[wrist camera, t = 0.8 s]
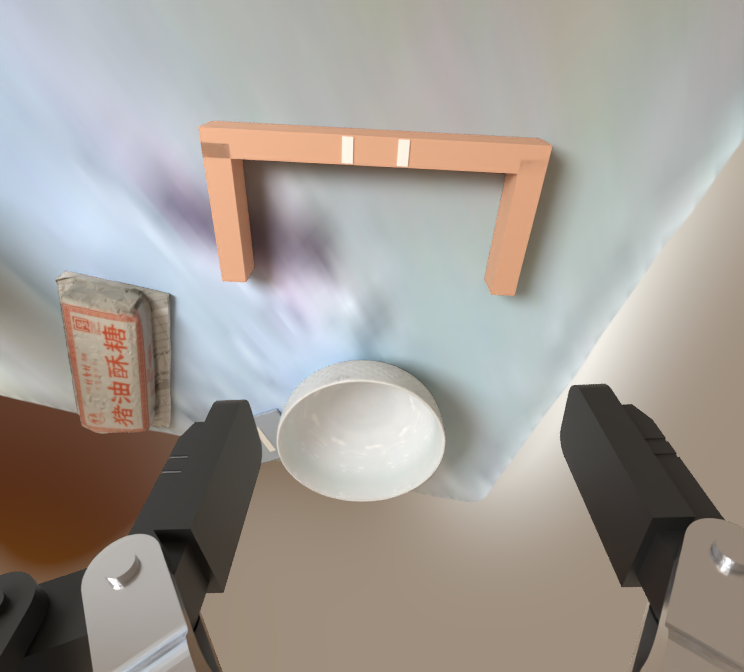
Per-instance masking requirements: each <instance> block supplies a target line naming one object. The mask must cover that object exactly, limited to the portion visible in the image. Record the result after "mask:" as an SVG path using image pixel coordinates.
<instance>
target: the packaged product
mask: <svg viewBox="0 0 744 672" xmlns="http://www.w3.org/2000/svg"><path fill="white" fill-rule="evenodd" d="M55 280H56V282H57V284H58V294H59V299H60V306H61V312H62V318H63V323H64V330H65V336H66V345H67V348H68V356H69V362H70V368H71V373H72V382H73V389H74V394H75V400H76V405H77V414H78V415H80V420H81V423H82V426H83V427H85V428H88V429H90V430H91V431H93V432H97V433H110V432H111V433H120V432H127V433H128V432H130V433H136V432H144V431H146V430H148V429H149V428H150V426H155V427H159V426H164V427H167V428H168V429H169V427H170V424H171V395H170V378H171V343H170V324H171V322H170V301H169V293H165V292H161V291H157V290H152V289H148V288H144V287H139V286H135V285H130V284H126V283H121V282H116V281H110V280H106V279H102V278H98V277H93V276H88V275H84V274H79V273H74V272H70V271H65V272H64V273H62V274H61V275H60V276H59V277H58V278H57V279H55Z"/></svg>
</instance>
